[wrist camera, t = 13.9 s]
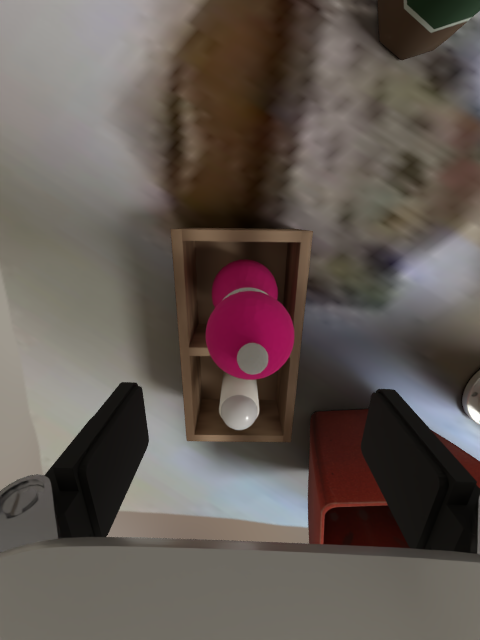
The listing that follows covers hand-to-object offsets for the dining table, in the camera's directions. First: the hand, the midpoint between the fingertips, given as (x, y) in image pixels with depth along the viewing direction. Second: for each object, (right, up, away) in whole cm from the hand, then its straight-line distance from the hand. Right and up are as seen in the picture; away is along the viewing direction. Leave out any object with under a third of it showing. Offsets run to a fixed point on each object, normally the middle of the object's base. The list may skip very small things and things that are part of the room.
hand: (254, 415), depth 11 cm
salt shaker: (-1, -3, +26) cm, 26 cm away
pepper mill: (0, +8, +22) cm, 24 cm away
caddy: (-1, +3, +25) cm, 25 cm away
